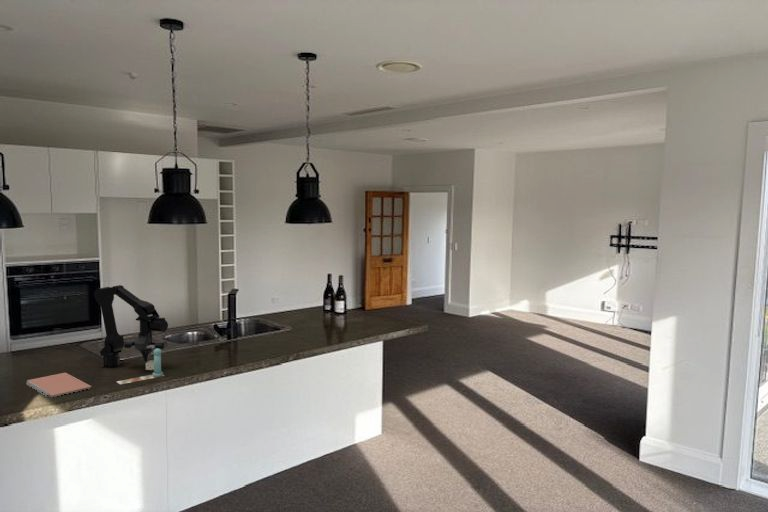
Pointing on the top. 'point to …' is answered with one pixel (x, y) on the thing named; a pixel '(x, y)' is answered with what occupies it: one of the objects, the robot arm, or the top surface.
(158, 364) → the pawn
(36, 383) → the notebook
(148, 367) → the die
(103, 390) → the top surface
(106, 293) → the robot arm
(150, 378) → the board
